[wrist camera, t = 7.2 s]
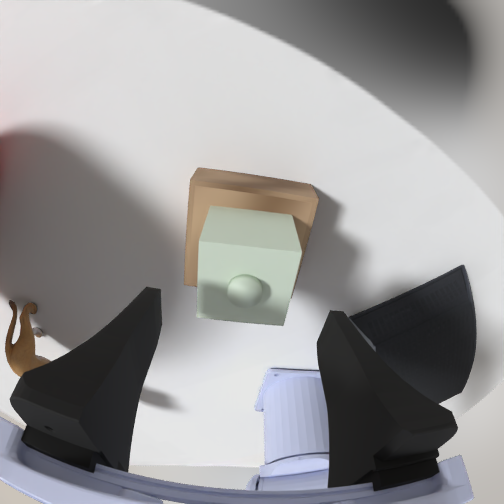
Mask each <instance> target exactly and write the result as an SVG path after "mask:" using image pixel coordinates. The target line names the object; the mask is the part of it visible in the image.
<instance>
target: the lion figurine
mask: <svg viewBox="0 0 504 504" xmlns="http://www.w3.org/2000/svg"><path fill="white" fill-rule="evenodd" d="M9 305H10V307H11V309H12V310H13V317H12V320H11V324H10V326H9V329H8V333H7V337H6V343H5V352H6V357H7V361H8V363H9V365H10V367H11V369H12V370H13V372H14V373H15V374H17V375H18V376H20V377H21V376H22V374H23V373H24V372H26V371H29V370H32V369H34V368H37V367H40V366H42V365H45V364H47V363H49V362H51V361H50V360H48V359H47V358H45V357H42V356H38V355H35V338H34V335H36V336H37V337H41V336H42V335H43V333H42V332H41V330H40V329H38V328H32V327H31V323H30V319H29V313H31V314H36V313H37V307H36V305H35V304H33V303H28V304H26V305H25V307H24V308H23V311H22V313H21V315H20V324H21V330H20V336H19V338H18V340H17V342H16V343H15V344H12V337H13V333H14V328H15V325H16V320H17V306H16V304H15V302H13V301H12V300H9Z"/></svg>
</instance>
